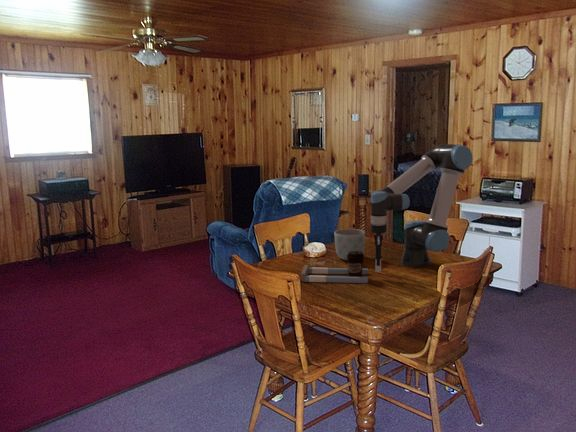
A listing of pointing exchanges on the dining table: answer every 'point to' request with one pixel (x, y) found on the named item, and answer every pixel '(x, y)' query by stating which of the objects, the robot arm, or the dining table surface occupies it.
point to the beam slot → (331, 278)
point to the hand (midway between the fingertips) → (378, 271)
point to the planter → (349, 241)
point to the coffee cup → (355, 263)
